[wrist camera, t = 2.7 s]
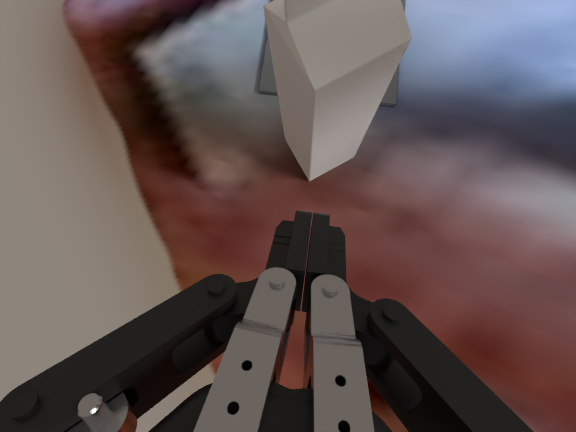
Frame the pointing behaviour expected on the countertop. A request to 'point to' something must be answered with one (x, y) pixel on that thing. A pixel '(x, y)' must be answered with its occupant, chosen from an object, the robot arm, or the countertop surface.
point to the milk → (332, 72)
